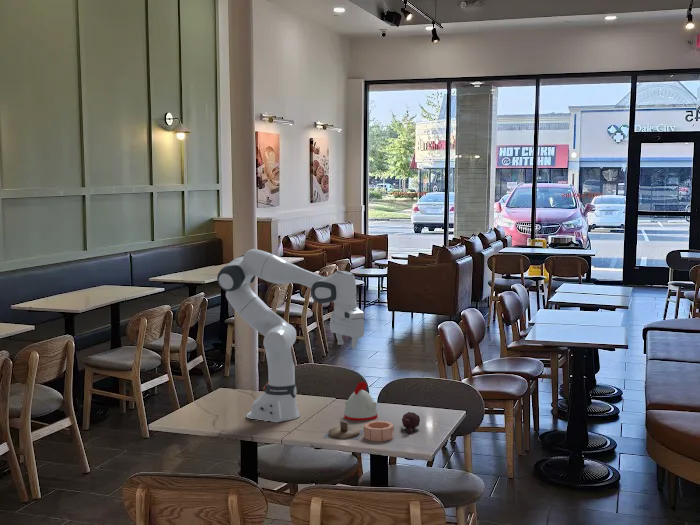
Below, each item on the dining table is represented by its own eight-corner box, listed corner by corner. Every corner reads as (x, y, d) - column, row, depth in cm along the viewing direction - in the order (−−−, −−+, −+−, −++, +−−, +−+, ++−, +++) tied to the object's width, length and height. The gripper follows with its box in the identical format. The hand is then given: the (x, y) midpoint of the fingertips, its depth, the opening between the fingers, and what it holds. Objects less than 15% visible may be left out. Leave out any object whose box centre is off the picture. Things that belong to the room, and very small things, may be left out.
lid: (325, 437, 304) (324, 425, 304) (332, 428, 316) (332, 417, 316) (355, 439, 302) (355, 426, 301) (362, 430, 313) (362, 418, 313)
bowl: (362, 441, 301) (361, 428, 300) (368, 433, 311) (367, 420, 311) (390, 443, 298) (390, 429, 298) (395, 434, 309) (395, 421, 308)
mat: (322, 439, 305) (322, 437, 305) (330, 430, 316) (330, 428, 316) (358, 441, 302) (358, 439, 301) (365, 431, 313) (365, 430, 313)
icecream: (403, 407, 324) (395, 421, 309) (420, 404, 321) (413, 417, 307) (408, 423, 324) (400, 437, 310) (425, 420, 322) (418, 434, 308)
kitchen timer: (383, 416, 335) (383, 381, 334) (364, 424, 324) (364, 387, 323) (357, 411, 344) (356, 377, 342) (337, 418, 333) (336, 383, 331)
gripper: (325, 309, 323) (326, 343, 324) (353, 315, 306) (354, 350, 307) (338, 308, 326) (339, 341, 327) (366, 313, 309) (367, 348, 310)
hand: (347, 346), depth 317 cm, fingers open, 8 cm apart
